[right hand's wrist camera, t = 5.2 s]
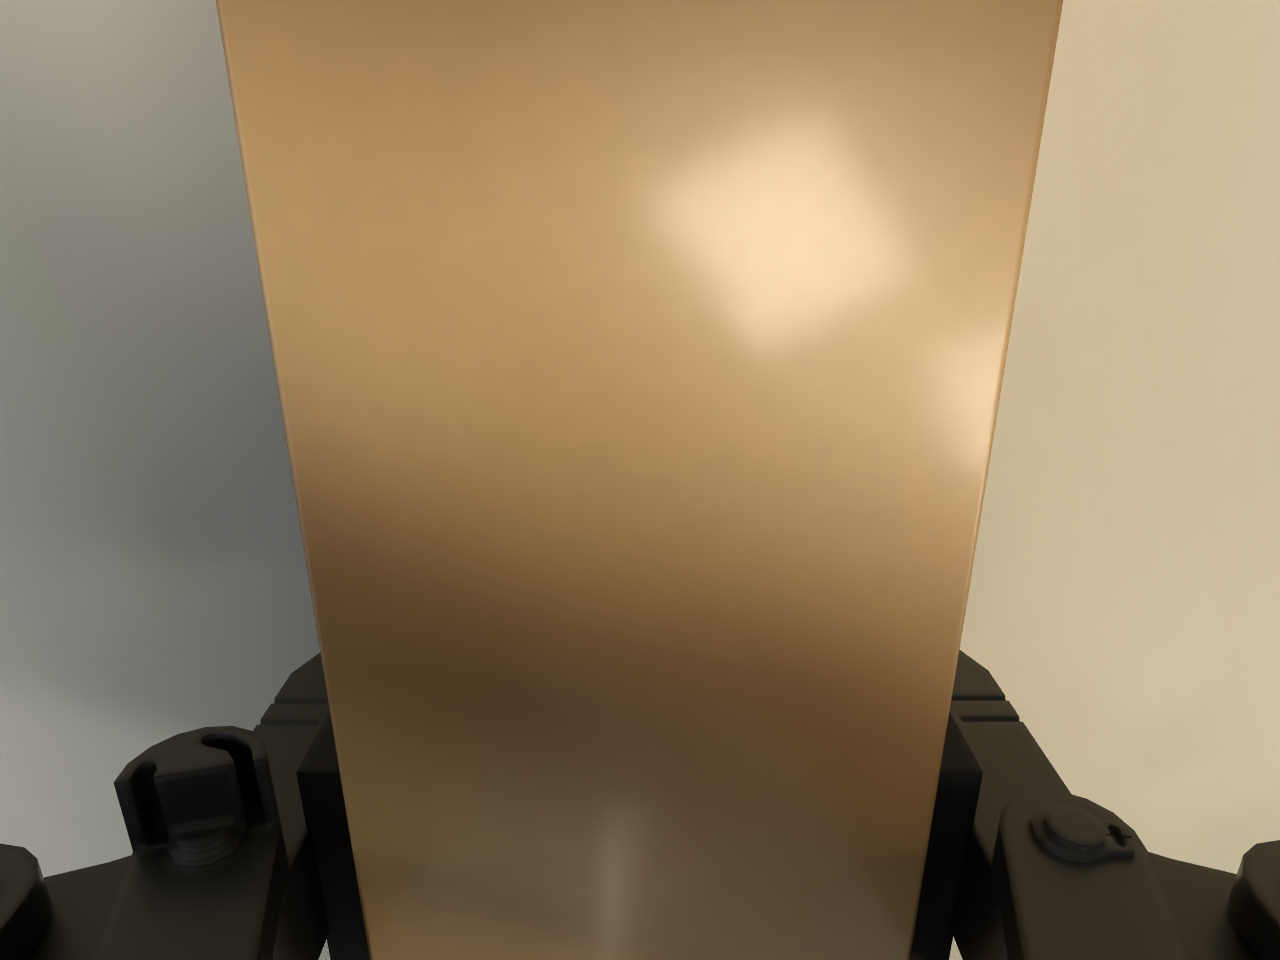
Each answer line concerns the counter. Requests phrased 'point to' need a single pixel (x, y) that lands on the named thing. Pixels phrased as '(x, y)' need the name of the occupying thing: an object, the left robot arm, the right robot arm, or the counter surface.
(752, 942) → the bar
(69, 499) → the counter surface
